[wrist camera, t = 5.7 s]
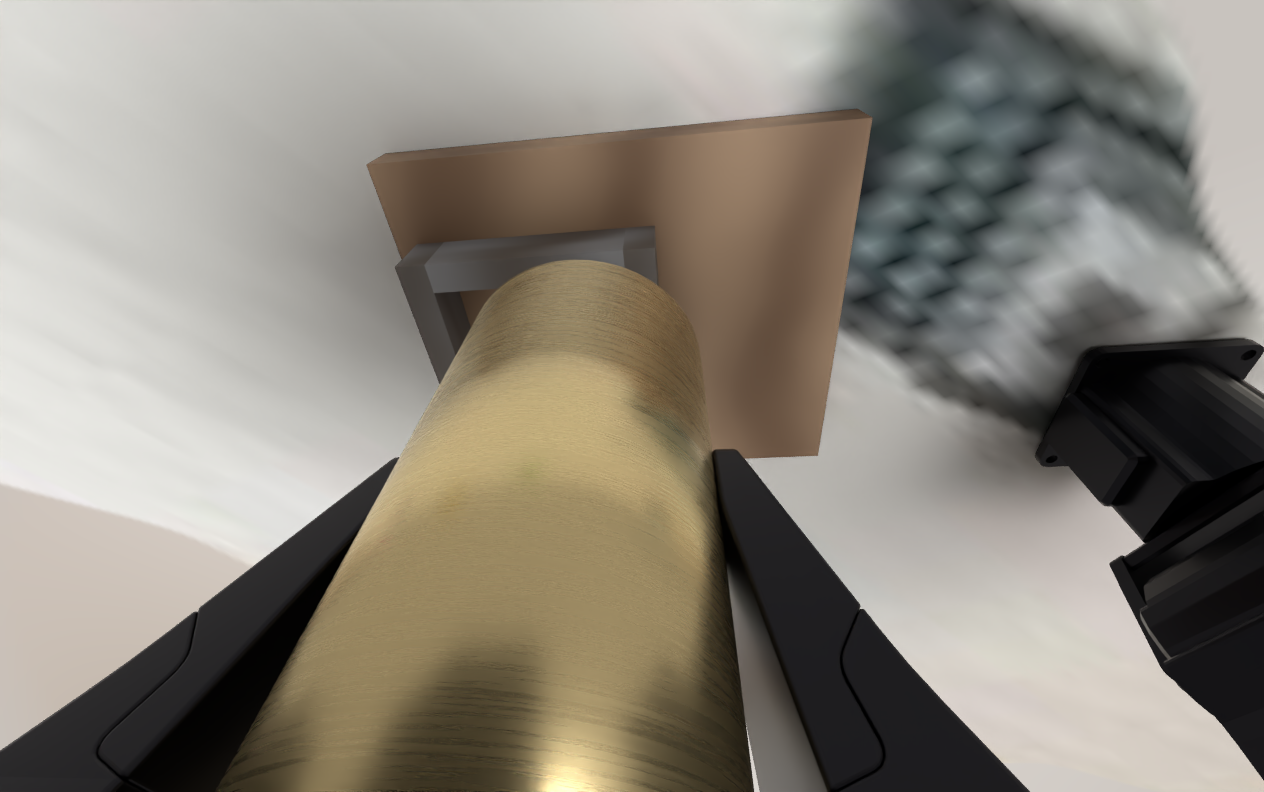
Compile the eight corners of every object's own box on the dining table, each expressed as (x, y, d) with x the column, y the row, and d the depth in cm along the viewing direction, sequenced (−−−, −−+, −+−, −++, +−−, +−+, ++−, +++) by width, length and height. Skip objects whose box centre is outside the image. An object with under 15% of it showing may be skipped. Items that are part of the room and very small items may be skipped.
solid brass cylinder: (702, 253, 10) (822, 931, 3) (700, 449, 13) (753, 1017, 6) (442, 265, 10) (-49, 897, 3) (499, 454, 13) (314, 995, 6)
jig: (857, 108, 17) (896, 131, 14) (810, 433, 26) (829, 487, 23) (385, 153, 19) (337, 182, 16) (487, 448, 27) (468, 500, 24)
